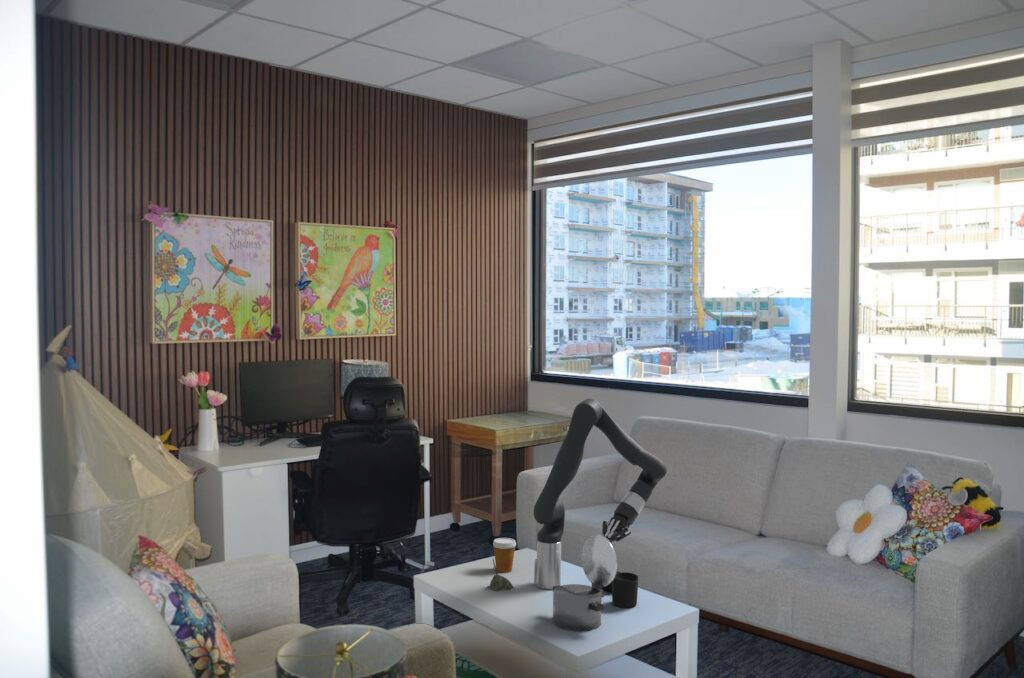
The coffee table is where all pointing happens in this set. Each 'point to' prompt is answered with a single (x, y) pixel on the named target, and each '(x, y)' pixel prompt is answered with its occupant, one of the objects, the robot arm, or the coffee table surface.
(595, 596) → the cooker pot
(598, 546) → the cooker lid
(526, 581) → the coffee table surface
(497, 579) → the sword in stone
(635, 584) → the pen holder
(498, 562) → the disposable coffee cup
